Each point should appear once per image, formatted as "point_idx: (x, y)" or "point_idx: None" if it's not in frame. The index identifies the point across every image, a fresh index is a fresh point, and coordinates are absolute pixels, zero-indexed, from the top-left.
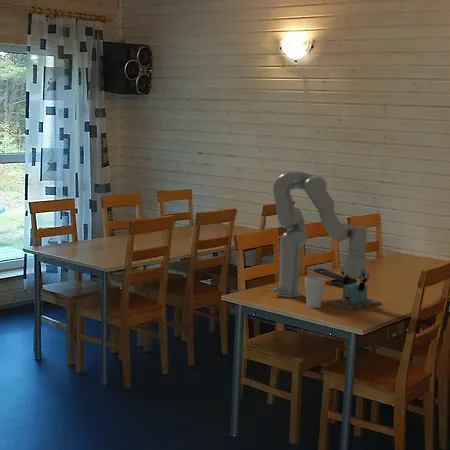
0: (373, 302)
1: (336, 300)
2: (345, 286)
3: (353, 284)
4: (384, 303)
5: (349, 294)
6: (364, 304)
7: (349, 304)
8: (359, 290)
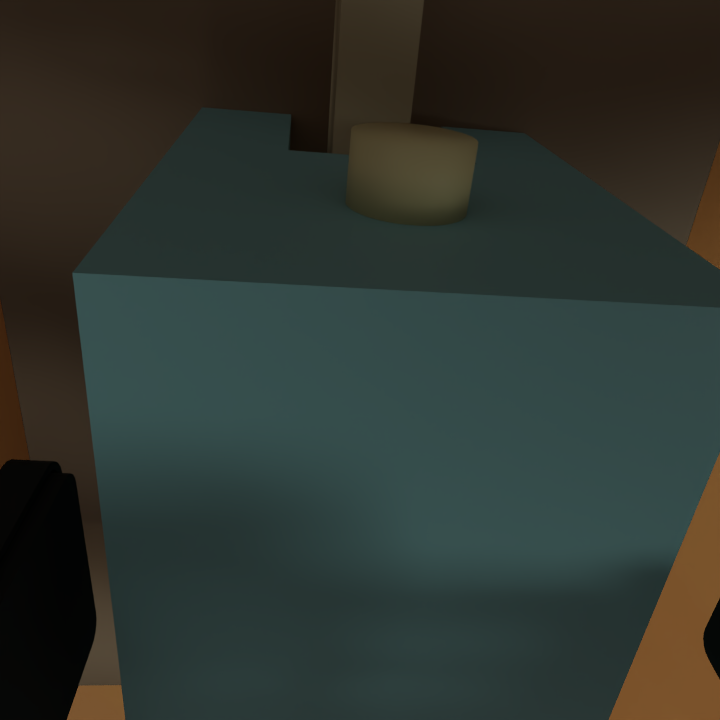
0: (98, 577)
1: (687, 107)
2: (610, 284)
3: (488, 689)
4: (101, 707)
5: (310, 176)
6: (61, 351)
7: (238, 48)
8: (23, 467)
